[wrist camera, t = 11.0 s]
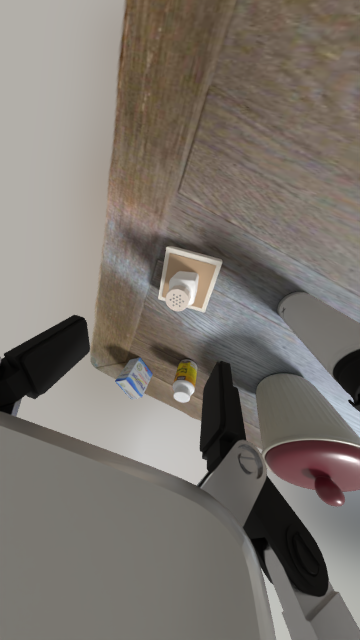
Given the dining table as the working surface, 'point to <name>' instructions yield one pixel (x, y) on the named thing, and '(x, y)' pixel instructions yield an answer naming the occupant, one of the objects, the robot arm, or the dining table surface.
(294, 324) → the travel mug
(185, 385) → the supplement bottle
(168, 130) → the dining table surface
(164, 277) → the pedestal
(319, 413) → the canister
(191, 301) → the salt shaker
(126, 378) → the medicine box
